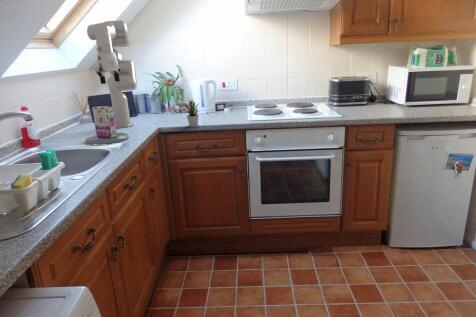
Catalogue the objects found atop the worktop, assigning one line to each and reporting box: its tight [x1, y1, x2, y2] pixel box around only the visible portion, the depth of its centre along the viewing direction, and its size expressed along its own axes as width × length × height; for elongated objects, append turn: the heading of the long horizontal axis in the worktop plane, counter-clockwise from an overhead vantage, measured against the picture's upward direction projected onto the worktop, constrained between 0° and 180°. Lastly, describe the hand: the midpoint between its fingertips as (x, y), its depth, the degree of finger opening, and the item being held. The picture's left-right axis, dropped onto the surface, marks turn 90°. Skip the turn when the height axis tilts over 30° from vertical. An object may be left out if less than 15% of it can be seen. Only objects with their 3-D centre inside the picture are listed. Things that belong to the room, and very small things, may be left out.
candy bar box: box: [91, 105, 118, 139], centre depth 190 cm, size 11×5×16 cm, turn 62°
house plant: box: [182, 99, 200, 127], centre depth 216 cm, size 14×14×16 cm
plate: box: [85, 132, 130, 145], centre depth 192 cm, size 22×22×2 cm
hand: (110, 82), depth 193 cm, fingers open, 9 cm apart
